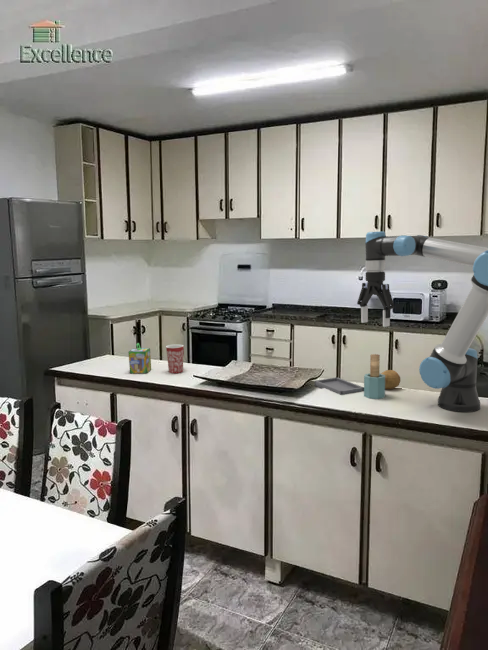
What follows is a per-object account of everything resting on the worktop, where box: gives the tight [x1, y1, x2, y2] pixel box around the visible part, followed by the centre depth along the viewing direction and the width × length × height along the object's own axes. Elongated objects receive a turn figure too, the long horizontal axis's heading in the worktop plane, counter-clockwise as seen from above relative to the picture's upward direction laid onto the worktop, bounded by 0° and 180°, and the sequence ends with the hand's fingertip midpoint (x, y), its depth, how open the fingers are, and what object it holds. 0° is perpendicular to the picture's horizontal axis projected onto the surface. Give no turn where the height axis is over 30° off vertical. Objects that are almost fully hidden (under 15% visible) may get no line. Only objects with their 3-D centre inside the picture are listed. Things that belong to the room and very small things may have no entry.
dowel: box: [369, 353, 381, 377], centre depth 213 cm, size 4×4×17 cm
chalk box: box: [127, 342, 152, 375], centre depth 270 cm, size 9×9×15 cm
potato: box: [380, 369, 401, 390], centre depth 227 cm, size 10×14×8 cm
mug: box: [165, 343, 185, 374], centre depth 269 cm, size 13×9×14 cm
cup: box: [363, 372, 386, 400], centre depth 214 cm, size 8×8×10 cm
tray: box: [314, 377, 364, 396], centre depth 228 cm, size 20×12×2 cm, turn 25°
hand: (375, 324), depth 211 cm, fingers open, 13 cm apart
